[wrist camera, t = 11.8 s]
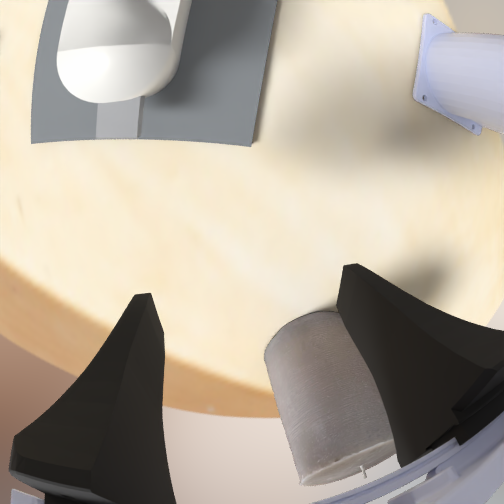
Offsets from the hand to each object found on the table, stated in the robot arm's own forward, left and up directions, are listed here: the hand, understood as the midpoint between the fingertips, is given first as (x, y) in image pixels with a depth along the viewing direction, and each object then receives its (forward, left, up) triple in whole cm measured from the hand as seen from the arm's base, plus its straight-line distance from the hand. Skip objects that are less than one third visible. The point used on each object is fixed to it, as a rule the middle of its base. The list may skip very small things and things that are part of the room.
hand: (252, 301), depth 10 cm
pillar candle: (-10, +14, -10) cm, 20 cm away
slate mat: (+6, -11, -9) cm, 16 cm away
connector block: (+6, -11, -9) cm, 15 cm away
